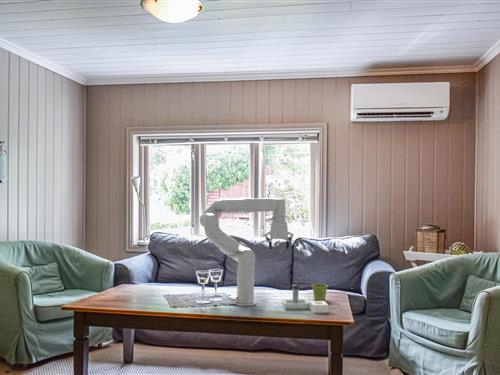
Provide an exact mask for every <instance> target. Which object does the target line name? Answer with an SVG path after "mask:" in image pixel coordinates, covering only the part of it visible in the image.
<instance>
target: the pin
mask: <svg viewBox="0 0 500 375" xmlns="http://www.w3.org/2000/svg"><path fill="white" fill-rule="evenodd" d="M300 287H301V286H300V284H295V283H294V284H291V288H292V299H293V303H298V299H299V288H300Z"/></svg>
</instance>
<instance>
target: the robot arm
mask: <svg viewBox="0 0 500 375" xmlns="http://www.w3.org/2000/svg"><path fill="white" fill-rule="evenodd" d="M259 212H261V213H262V212H272V216H271V217H270V218H269V220H271V222H270V231H268V232H266V233H264V234H263V235H264V237H265V239H266V240H267V241H268V247H269V249H270V250H272V249H273V248H272V245H273V242H272V241H273V240H284V239H285V249H287V250H288V249H289V248H290V241H291V240H293V237H294V233H292V232H290V231H289V230H288V228H289V227H288V223H287V221H286V200H285V198H280V197H279V198H273V197H265V198H251V197H250V198H249V197H239V198H238V197H236V198H235V197H234V198H233V197H232V198H218V199H216V200H215V201H214V202H213V203H212V204H211V205H210V206H209V207H208V208H206V210H205V211H204V212H203V213H202V214H201V215H200V217H199V224H200V225H201V226H202V227H203V228H204V233H205V236H206V239H207V240H208V241H210V242H211V243H212V244H214V245H215V246H216V247H217V248H218V249H219V250H220V252H222V254H225V255H226V256H228V257H229V258H231V259H232V260H234V261H236V262H237V270H236V272H237V273H236V277H237V278H236V280H237V282H236V284H237V285H236V289H237V290H236V295H234V296H228V300H229V301H234V305H236V306H240V307H251V306H255V305H257V300H255V263H256V254H255V252H254V251H253V249H251V248H250V247H247V246H243V245H241V243H239V242H238V241H237V239H235V238H234V237H232V236H230V235H229V234H227V233H226V232H224V230H222V229H221V228H220V220H219V218H220V217H221V216H222V215H223V214H225V215H226V214H248V213H249V214H250V213H259ZM268 236H269V237H268Z"/></svg>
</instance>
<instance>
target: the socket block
mask: <svg viewBox="0 0 500 375" xmlns="http://www.w3.org/2000/svg"><path fill="white" fill-rule="evenodd" d="M309 310H310V311H311V312H312V313H314V314H321V313H322V314H323V313H324V314H325V313H329V304H328V303H327V302H326V300H325V301H316V300H313V301H312V300H310V301H309Z"/></svg>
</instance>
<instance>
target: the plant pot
mask: <svg viewBox="0 0 500 375" xmlns="http://www.w3.org/2000/svg"><path fill="white" fill-rule="evenodd" d="M311 287H312V291H313V292H312V293H313V298H314V300H313V301H325V302H326V297H327V296H326V295H327V289H328V285H327V284H324V283H314V284H311Z"/></svg>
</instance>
